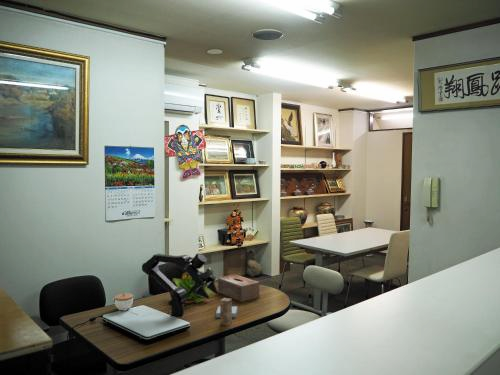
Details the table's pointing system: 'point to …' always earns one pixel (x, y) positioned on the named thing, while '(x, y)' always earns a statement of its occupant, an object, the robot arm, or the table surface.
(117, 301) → the lidded jar
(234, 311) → the slate base
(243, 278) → the tissue box cover
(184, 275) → the potted flower
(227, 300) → the walnut block
